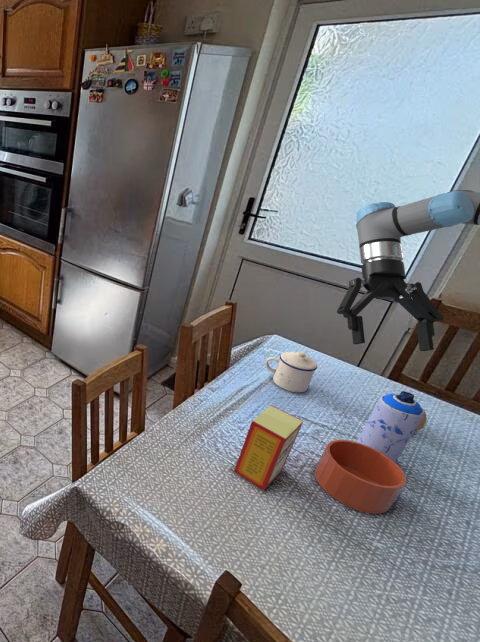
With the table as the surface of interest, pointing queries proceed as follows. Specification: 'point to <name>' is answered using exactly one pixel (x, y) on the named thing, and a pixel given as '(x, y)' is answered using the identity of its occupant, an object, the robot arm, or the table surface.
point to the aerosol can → (392, 424)
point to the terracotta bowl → (359, 476)
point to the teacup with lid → (293, 371)
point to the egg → (422, 422)
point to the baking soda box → (267, 446)
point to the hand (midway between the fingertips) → (392, 347)
